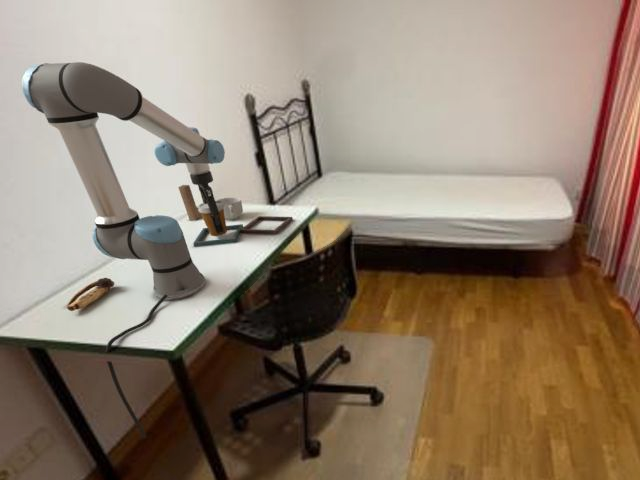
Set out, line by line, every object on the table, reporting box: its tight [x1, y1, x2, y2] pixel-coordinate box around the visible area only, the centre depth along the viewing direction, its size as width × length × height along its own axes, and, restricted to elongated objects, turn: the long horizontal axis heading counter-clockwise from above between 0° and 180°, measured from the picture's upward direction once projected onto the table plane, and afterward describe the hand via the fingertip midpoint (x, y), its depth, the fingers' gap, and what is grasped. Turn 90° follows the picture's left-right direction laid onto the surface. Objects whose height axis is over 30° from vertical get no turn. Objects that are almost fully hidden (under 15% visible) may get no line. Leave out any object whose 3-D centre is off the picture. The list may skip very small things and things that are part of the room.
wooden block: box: [178, 184, 203, 221], centre depth 200 cm, size 7×3×15 cm, turn 169°
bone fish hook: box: [66, 277, 115, 312], centre depth 142 cm, size 9×5×18 cm
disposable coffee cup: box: [198, 200, 228, 237], centre depth 179 cm, size 10×10×12 cm
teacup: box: [216, 197, 244, 221], centre depth 199 cm, size 14×11×8 cm
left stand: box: [192, 223, 244, 247], centre depth 183 cm, size 16×16×2 cm
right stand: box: [240, 215, 294, 235], centre depth 190 cm, size 16×16×2 cm
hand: (217, 228), depth 182 cm, fingers closed on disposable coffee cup, 8 cm apart
